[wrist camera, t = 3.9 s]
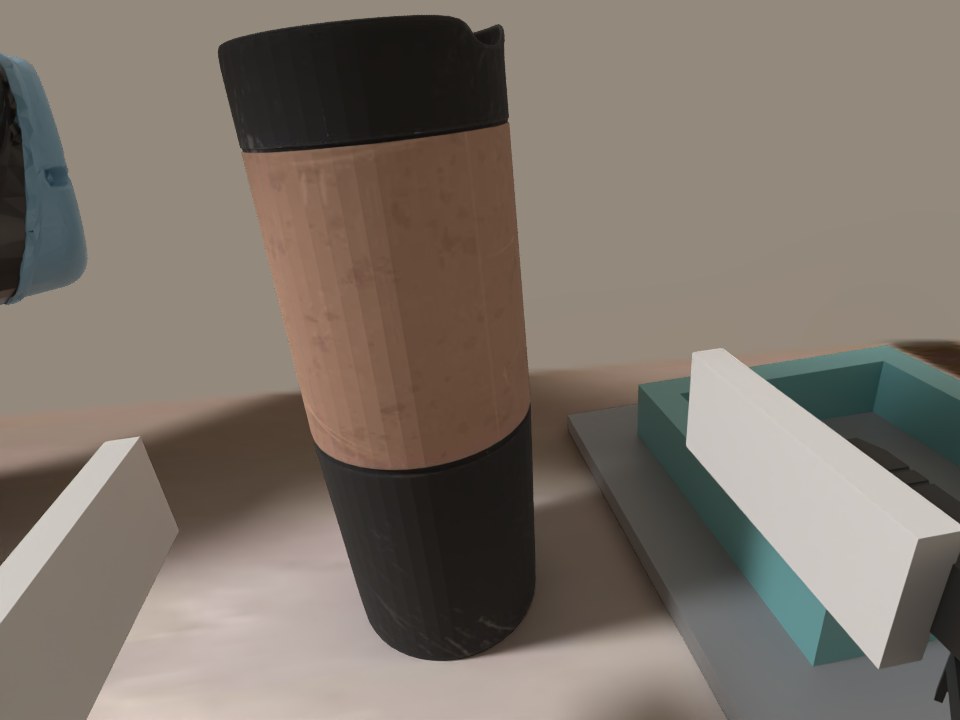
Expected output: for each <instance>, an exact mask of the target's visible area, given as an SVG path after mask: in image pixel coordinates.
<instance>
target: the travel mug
mask: <svg viewBox="0 0 960 720" xmlns="http://www.w3.org/2000/svg"><path fill="white" fill-rule="evenodd" d="M504 41H505V40H504V30H503V28H502V26H501V25H499V24H498V25H495V26H492V27H490V28H487V29H484V30H481V31H478V32H474V33H473V32H472V31H471V29H470V28H469V26H468V25H467V24H466V23H465V22H463V21H462V20H460V19H458V18H454V17H450V16H441V15H410V16H391V17H377V18H365V19H353V20H344V21H335V22H325V23H317V24H310V25H302V26H295V27H288V28H282V29H276V30H270V31H265V32H260V33H255V34H250V35H246V36H242V37H239V38H235V39H232V40H229V41H227V42H225V43H223V44H221V45H220V46H219V49H218V58H219V63H220V68H221V73H222V76H223V81H224V84H225V89H226V92H227V97H228V101H229V105H230V109H231V112H232V117H233V121H234V125H235V129H236V133H237V137H238V141H239V145H240V148H242V150H243V152H242V156H243V161H244V165H245V169H246V173H247V177H248V181H249V185H250V189H251V193H252V197H253V201H254V205H255V209H256V213H257V217H258V221H259V225H260V229H261V233H262V237H263V241H264V245H265V249H266V253H267V257H268V261H269V265H270V269H271V273H272V277H273V281H274V285H275V289H276V293H277V297H278V301H279V305H280V309H281V313H282V317H283V321H284V325H285V329H286V334H287V337H288V342H289V346H290V349H291V354H292V357H293V361H294V365H295V370H296V373H297V378H298V381H299V386H300V390H301V394H302V398H303V402H304V406H305V410H306V414H307V418H308V422H309V426H310V430H311V433H312V436H313V438H314V444H315V448H316V451H317V454H318V458H319V461H320V464H321V467H322V471H323V474H324V477H325V481H326V484H327V487H328V491H329V494H330V497H331V501H332V504H333V507H334V511H335V514H336V517H337V521H338V524H339V527H340V530H341V534H342V537H343V540H344V544H345V547H346V550H347V554H348V557H349V560H350V564H351V567H352V570H353V574H354V577H355V580H356V584H357V587H358V590H359V593H360V596H361V599H362V602H363V605H364V608H365V611H366V614H367V616H368V619H369V621H370V623H371V625H372V627H373V628H374V630H375V631H376V633H377V634H378V635H379V636H380V637H381V638H382V640H384V641H385V642H386V643H387V644H388V645H390V646H391V647H393V648H394V649H396V650H398V651H399V652H402V653H404V654H407V655H409V656H413V657H416V658H420V659H428V660H451V659H458V658H463V657H467V656H471V655H474V654H476V653H479V652H482V651H484V650H486V649H488V648H490V647H492V646H494V645H495V644H497V643H498V642H500V641H501V640H503V639H504V638H505V637H506V636H508V635H509V634H510V633H511V632H512V631H513V630H514V629H515V628H516V627H517V626H518V625H519V624H520V622H521V621H522V619H523V618H524V616H525V615H526V613H527V611H528V609H529V607H530V604H531V601H532V598H533V595H534V589H535V535H534V502H533V469H532V436H531V404H530V386H529V373H528V360H527V347H526V335H525V321H524V309H523V296H522V282H521V270H520V257H519V244H518V231H517V219H516V205H515V192H514V179H513V167H512V153H511V141H510V127H509V122H507V121H508V118H509V114H508V102H507V101H508V100H507V87H506V76H505V75H506V74H505V61H504Z"/></svg>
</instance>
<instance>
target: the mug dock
mask: <svg viewBox="0 0 960 720" xmlns="http://www.w3.org/2000/svg"><path fill="white" fill-rule="evenodd" d="M748 368H750V369H751V370H752V371H754V372H755V373H756V374H758V375H759V376H761V377H762V378H763V379H765V380H766V381H767V382H769V383H770V384H771V385H773V386H774V387H775V388H777V389H778V390H779V391H781V392H782V393H784V394H785V395H786V396H788V397H789V398H790V399H792V400H793V401H794V402H796V403H797V404H798V405H800V406H801V407H802V408H804V409H805V410H806V411H808V412H809V413H811V414H812V415H813V416H815V417H816V418H817V419H819V420H820V421H821V422H823V423H824V424H825V425H827V426H828V427H829V428H831V429H832V430H833V431H835V432H836V433H838V434H839V435H840V436H842V437H843V438H844V439H851V438H859V439H861V440H863V441H866V442H868V443H871V444H873V445H875V446H878V447H880V448H882V449H885V450H887V451H888V452H890V453H891V454H892V455H894V456H895V457H897V458H898V459H900V460H901V461H902V462H904V463H905V464H907V465H908V466H909V468H910V470H915V471H917V472H918V473H919V474H921V475H922V476H924V477H925V478H927V479H928V480H929V483H930V484H935V485H937V486H938V487H939V488H941V489H942V490H944V491H945V492H947V493H948V494H949V495H951V496H952V497H954V498H955V499H957V500H958V501H959V502H960V380H958V379H956V378H954V377H952V376H950V375H948V374H946V373H943V372H941V371H939V370H937V369H935V368H933V367H931V366H929V365H927V364H925V363H923V362H921V361H919V360H917V359H915V358H913V357H910V356H908V355H906V354H904V353H902V352H900V351H898V350H896V349H894V348H892V347H890V346H888V345H886V346H880V347H874V348H867V349H861V350H855V351H848V352H842V353H836V354H829V355H823V356H817V357H811V358H804V359H798V360H792V361H785V362H779V363H773V364H766V365H760V366H754V367H748ZM690 382H691V377H684V378H678V379H672V380H665V381H659V382H653V383H646V384H640V385H639V390H638V404H632V405H626V406H620V407H614V408H608V409H601V410H595V411H589V412H583V413H577V414H570V415H567V418H568V431H569V432H570V434H571V436H572V438H573V440H574V442H575V443H576V445H577V447H578V449H579V451H580V452H581V454H582V456H583V458H584V460H585V461H586V463H587V465H588V467H589V469H590V471H591V472H592V474H593V476H594V478H595V480H596V481H597V483H598V485H599V487H600V489H601V490H602V492H603V494H604V496H605V498H606V500H607V501H608V503H609V505H610V507H611V509H612V510H613V512H614V514H615V516H616V518H617V519H618V521H619V523H620V525H621V527H622V528H623V530H624V532H625V534H626V536H627V538H628V539H629V541H630V543H631V545H632V547H633V548H634V550H635V552H636V554H637V556H638V557H639V559H640V561H641V563H642V565H643V567H644V568H645V570H646V572H647V574H648V576H649V577H650V579H651V581H652V583H653V585H654V586H655V588H656V590H657V592H658V594H659V596H660V597H661V599H662V601H663V603H664V605H665V606H666V608H667V610H668V612H669V614H670V615H671V617H672V619H673V621H674V623H675V625H676V626H677V628H678V630H679V632H680V634H681V635H682V637H683V639H684V641H685V643H686V644H687V646H688V648H689V650H690V652H691V654H692V655H693V657H694V659H695V661H696V663H697V664H698V666H699V668H700V670H701V672H702V673H703V675H704V677H705V679H706V681H707V683H708V684H709V686H710V688H711V690H712V692H713V693H714V695H715V697H716V699H717V701H718V702H719V704H720V706H721V708H722V710H723V712H724V713H725V715H726V717H727V719H728V720H951V714H950V705H949V695H948V692H947V693H946V696H945V698H944V701H943V703H940V702H938V701H935V700H934V697H935V693H936V689H937V686H938V684H939V681H940V678H941V676H942V673H943V670H944V668H945V665H946V662H947V660H948V657H949V655H950V651H949V650H948V649H947V648H946V647H945V646H944V645H943V644H942V643H941V642H940V641H939V640H938V639H937V638H936V637H934V636H933V635H932V634H931V635H930V638H929V641H928V644H927V647H926V650H925V653H924V655H923V658H922V660H921V661H916V662H911V663H907V664H902V665H897V666H892V667H888V668H883V669H878V668H877V667H876V666H875V665H874V664H873V662H872V661H871V660H870V659H869V658H868V657H867V655H866V654H865V653H864V652H863V651H862V650H861V648H860V647H859V646H858V645H857V644H856V643H855V641H854V640H853V639H852V638H851V637H850V636H849V635H848V633H847V632H846V631H845V630H844V629H843V628H842V626H841V625H840V624H839V623H838V622H837V621H836V619H835V618H834V617H833V616H832V615H831V614H830V612H829V611H828V610H827V609H826V608H825V607H824V606H823V604H822V603H821V602H820V601H819V600H818V599H817V597H816V596H815V595H814V594H813V593H812V592H811V590H810V589H809V588H808V587H807V586H806V585H805V583H804V582H803V581H802V580H801V579H800V578H799V576H798V575H797V574H796V573H795V572H794V571H793V570H792V568H791V567H790V566H789V565H788V564H787V563H786V561H785V560H784V559H783V558H782V557H781V556H780V554H779V553H778V552H777V551H776V550H775V549H774V547H773V546H772V545H771V544H770V543H769V542H768V540H767V539H766V538H765V537H764V536H763V535H762V534H761V532H760V531H759V530H758V529H757V528H756V527H755V525H754V524H753V523H752V522H751V521H750V520H749V518H748V517H747V516H746V515H745V514H744V513H743V511H742V510H741V509H740V508H739V507H738V506H737V504H736V503H735V502H734V501H733V500H732V499H731V498H730V496H729V495H728V494H727V493H726V492H725V491H724V489H723V488H722V487H721V486H720V485H719V484H718V482H717V481H716V480H715V479H714V478H713V477H712V475H711V474H710V473H709V472H708V471H707V470H706V469H705V467H704V466H703V465H702V464H701V463H700V462H699V460H698V459H697V458H696V457H695V456H694V455H693V453H692V452H691V451H690V450H689V449H688V448H687V446H686V438H687V424H688V410H689V396H690Z"/></svg>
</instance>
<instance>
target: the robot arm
mask: <svg viewBox="0 0 960 720" xmlns="http://www.w3.org/2000/svg"><path fill="white" fill-rule="evenodd" d="M86 265H87V247H86V240H85V236H84V230H83V225H82V221H81V216H80V212H79V209H78V204H77V200H76V196H75V193H74V189H73V186H72V183H71V180H70V178H69V177H68V168H67V165H66V162H65V158H64V152H63V148H62V144H61V141H60V137H59V134H58V131H57V127H56V124H55V121H54V118H53V115H52V111H51V108H50V105H49V102H48V99H47V97H46V94H45V91H44V88H43V86H42V84H41V81H40V78H39V76H38V74H37V72H36V70H35V69H34V67H33V66H32V65H31V64H30V63H29V62H27V61H26V60H24V59H21V58H18V57H8V56H6V55H4V54H1V53H0V305H2V304H6V305H9V304H14V303H17V302H19V301H21V300H22V299H23V298H24V297H27V296H31V295H35V294H39V293H43V292H46V291H50V290H54V289H58V288H61V287H65V286H68V285H70V284H72V283H74V282H75V281H77V280H78V279H79V278H80V277H81V275H82V274H83V272H84V271H85V269H86ZM686 446H687V448H688V449H689V450H690V451H691V452H692V453H693V455H694V456H695V457H696V458H697V459H698V460H699V462H700V463H701V464H702V465H703V466H704V467H705V469H706V470H707V471H708V472H709V473H710V474H711V475H712V477H713V478H714V479H715V480H716V481H717V482H718V484H719V485H720V486H721V487H722V488H723V489H724V491H725V492H726V493H727V494H728V495H729V496H730V498H731V499H732V500H733V501H734V502H735V503H736V504H737V506H738V507H739V508H740V509H741V510H742V511H743V513H744V514H745V515H746V516H747V517H748V518H749V520H750V521H751V522H752V523H753V524H754V525H755V527H756V528H757V529H758V530H759V531H760V532H761V534H762V535H763V536H764V537H765V538H766V539H767V540H768V542H769V543H770V544H771V545H772V546H773V547H774V549H775V550H776V551H777V552H778V553H779V554H780V556H781V557H782V558H783V559H784V560H785V561H786V563H787V564H788V565H789V566H790V567H791V568H792V570H793V571H794V572H795V573H796V574H797V575H798V576H799V578H800V579H801V580H802V581H803V582H804V583H805V585H806V586H807V587H808V588H809V589H810V590H811V592H812V593H813V594H814V595H815V596H816V597H817V599H818V600H819V601H820V602H821V603H822V604H823V606H824V607H825V608H826V609H827V610H828V611H829V612H830V614H831V615H832V616H833V617H834V618H835V619H836V621H837V622H838V623H839V624H840V625H841V626H842V628H843V629H844V630H845V631H846V632H847V633H848V635H849V636H850V637H851V638H852V639H853V640H854V641H855V643H856V644H857V645H858V646H859V647H860V648H861V650H862V651H863V652H864V653H865V654H866V655H867V657H868V658H869V659H870V660H871V661H872V662H873V664H874V665H875V666H876V667H877V668H878V669H883V668H888V667H892V666H897V665H902V664H907V663H911V662H916V661H921V660H922V658H923V655H924V653H925V650H926V647H927V644H928V641H929V638H930V635H931V634H932V635H933V636H934V637H936V638H937V639H938V640H939V641H940V642H941V643H942V644H943V645H944V646H945V647H946V648H947V649H948V650H949V651H950V655H949V657H948V660H947V662H946V665H945V668H944V670H943V673H942V676H941V678H940V681H939V684H938V686H937V689H936V693H935V697H934V700H935V701H938V702H940V703H943V701H944V698H945V696H946V693H947V692H948V695H949V705H950V714H951V720H960V502H959V501H958V500H957V499H955V498H954V497H952V496H951V495H949V494H948V493H947V492H945V491H944V490H942V489H941V488H939V487H938V486H937V485H935V484H930V483H929V480H928V479H927V478H925V477H924V476H922V475H921V474H919V473H918V472H917V471H915V470H910V468H909V466H908V465H907V464H905V463H904V462H902V461H901V460H900V459H898V458H897V457H895V456H894V455H892V454H891V453H890V452H888V451H887V450H885V449H882V448H880V447H878V446H875V445H873V444H871V443H868V442H866V441H863V440H861V439H859V438H851V439H844V438H843V437H842V436H840V435H839V434H838V433H836V432H835V431H833V430H832V429H831V428H829V427H828V426H827V425H825V424H824V423H823V422H821V421H820V420H819V419H817V418H816V417H815V416H813V415H812V414H811V413H809V412H808V411H806V410H805V409H804V408H802V407H801V406H800V405H798V404H797V403H796V402H794V401H793V400H792V399H790V398H789V397H788V396H786V395H785V394H784V393H782V392H781V391H779V390H778V389H777V388H775V387H774V386H773V385H771V384H770V383H769V382H767V381H766V380H765V379H763V378H762V377H761V376H759V375H758V374H756V373H755V372H754V371H752V370H751V369H750V368H748V367H747V366H746V365H744V364H743V363H742V362H740V361H739V360H738V359H736V358H735V357H734V356H732V355H731V354H729V353H728V352H727V351H725V350H724V349H723V348H718V349H712V350H706V351H699V352H693V354H692V368H691V382H690V396H689V410H688V424H687V438H686ZM178 532H179V529H178V527H177V524H176V522H175V519H174V517H173V514H172V512H171V510H170V507H169V505H168V502H167V500H166V498H165V495H164V493H163V490H162V488H161V486H160V483H159V481H158V478H157V476H156V473H155V471H154V469H153V466H152V464H151V461H150V459H149V457H148V454H147V452H146V449H145V447H144V444H143V442H142V440H141V437H133V438H126V439H120V440H113V441H107V442H104V443H103V444H102V446H101V447H100V448H99V449H98V450H97V452H96V453H95V454H94V455H93V456H92V458H91V459H90V460H89V461H88V462H87V464H86V465H85V466H84V467H83V468H82V470H81V471H80V472H79V473H78V474H77V475H76V477H75V478H74V479H73V480H72V481H71V483H70V484H69V485H68V486H67V487H66V489H65V490H64V491H63V492H62V493H61V495H60V496H59V497H58V498H57V499H56V500H55V502H54V503H53V504H52V505H51V506H50V508H49V509H48V510H47V511H46V512H45V514H44V515H43V516H42V517H41V518H40V520H39V521H38V522H37V523H36V524H35V525H34V527H33V528H32V529H31V530H30V531H29V533H28V534H27V535H26V536H25V537H24V539H23V540H22V541H21V542H20V543H19V545H18V546H17V547H16V548H15V549H14V550H13V552H12V553H11V554H10V555H9V556H8V558H7V559H6V560H5V561H4V562H3V564H2V565H1V566H0V720H86V719H87V717H88V715H89V713H90V711H91V709H92V707H93V705H94V703H95V701H96V699H97V697H98V695H99V693H100V691H101V689H102V687H103V685H104V682H105V680H106V678H107V676H108V674H109V672H110V670H111V668H112V666H113V664H114V662H115V660H116V658H117V656H118V654H119V652H120V650H121V648H122V646H123V644H124V642H125V640H126V638H127V636H128V634H129V632H130V630H131V628H132V626H133V624H134V621H135V619H136V617H137V615H138V613H139V611H140V609H141V607H142V605H143V603H144V601H145V599H146V597H147V595H148V593H149V591H150V589H151V587H152V585H153V583H154V581H155V579H156V577H157V575H158V573H159V571H160V569H161V567H162V565H163V563H164V560H165V558H166V556H167V554H168V552H169V550H170V548H171V546H172V544H173V542H174V540H175V538H176V536H177V534H178Z"/></svg>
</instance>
